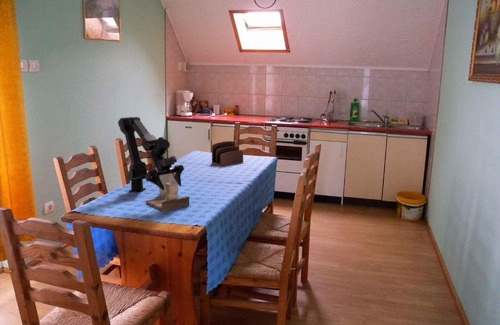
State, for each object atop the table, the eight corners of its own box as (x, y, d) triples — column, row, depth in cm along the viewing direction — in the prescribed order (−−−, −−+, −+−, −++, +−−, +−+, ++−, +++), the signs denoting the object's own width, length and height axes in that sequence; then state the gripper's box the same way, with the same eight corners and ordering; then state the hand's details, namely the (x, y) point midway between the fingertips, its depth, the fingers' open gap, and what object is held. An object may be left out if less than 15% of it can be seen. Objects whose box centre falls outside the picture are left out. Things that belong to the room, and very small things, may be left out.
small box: (168, 190, 226) (168, 166, 223) (178, 192, 223) (177, 168, 220) (159, 194, 219) (158, 170, 216) (169, 196, 216) (168, 171, 213)
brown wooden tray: (146, 203, 206) (145, 194, 205) (170, 197, 215) (170, 189, 214) (163, 211, 194) (163, 203, 193) (189, 205, 204) (189, 196, 203)
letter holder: (211, 163, 288) (211, 143, 284) (234, 159, 301) (234, 139, 297) (220, 166, 280) (220, 145, 277) (243, 162, 293) (243, 141, 290)
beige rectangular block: (165, 202, 202) (164, 182, 200) (172, 201, 205) (171, 181, 203) (170, 205, 199) (170, 185, 196) (177, 203, 201) (177, 183, 199)
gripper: (147, 153, 193) (160, 182, 188) (181, 148, 205) (195, 175, 200) (139, 167, 200) (152, 195, 195) (173, 161, 213) (186, 187, 207)
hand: (172, 187), depth 199 cm, fingers open, 9 cm apart
